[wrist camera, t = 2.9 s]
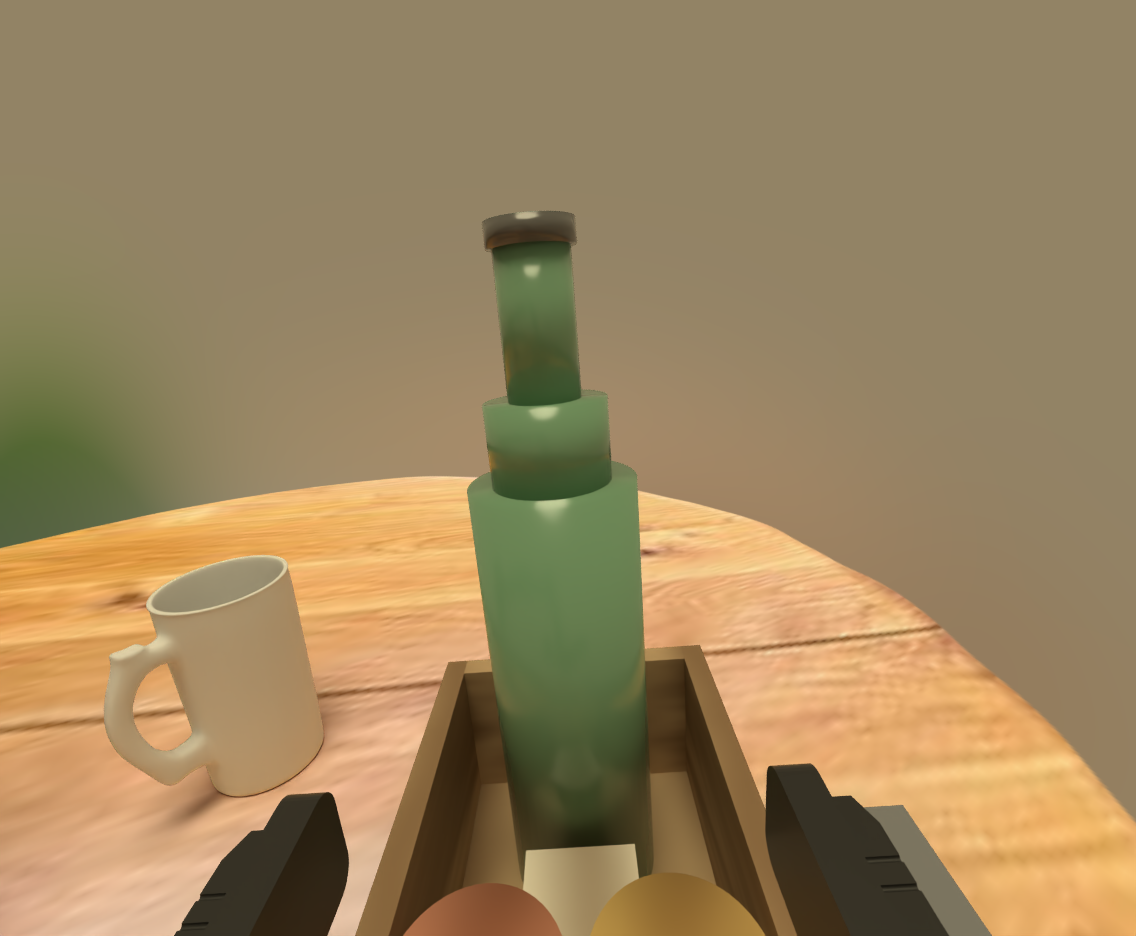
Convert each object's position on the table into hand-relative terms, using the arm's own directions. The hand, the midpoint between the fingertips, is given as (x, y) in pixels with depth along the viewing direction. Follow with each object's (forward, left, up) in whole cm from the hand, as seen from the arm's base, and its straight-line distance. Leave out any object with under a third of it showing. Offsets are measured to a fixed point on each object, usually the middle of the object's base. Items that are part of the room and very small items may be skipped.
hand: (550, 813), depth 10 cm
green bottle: (-7, +8, -15) cm, 19 cm away
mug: (-27, +1, -16) cm, 31 cm away
